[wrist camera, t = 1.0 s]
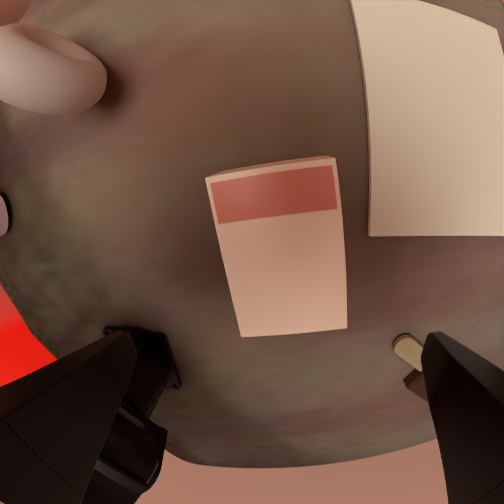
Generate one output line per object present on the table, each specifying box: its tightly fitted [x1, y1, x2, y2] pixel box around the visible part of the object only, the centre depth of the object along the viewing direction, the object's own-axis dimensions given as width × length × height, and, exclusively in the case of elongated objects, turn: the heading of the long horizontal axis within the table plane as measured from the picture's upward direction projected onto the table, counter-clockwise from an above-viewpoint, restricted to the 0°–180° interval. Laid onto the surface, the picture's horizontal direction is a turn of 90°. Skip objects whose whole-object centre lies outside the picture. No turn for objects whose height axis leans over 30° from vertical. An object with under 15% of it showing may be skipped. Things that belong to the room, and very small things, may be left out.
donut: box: [0, 24, 107, 116], centre depth 10 cm, size 10×4×10 cm, turn 47°
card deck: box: [205, 155, 347, 337], centre depth 16 cm, size 9×6×4 cm, turn 10°
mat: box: [349, 0, 504, 236], centre depth 12 cm, size 16×12×1 cm
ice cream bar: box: [393, 335, 428, 401], centre depth 19 cm, size 5×2×15 cm
